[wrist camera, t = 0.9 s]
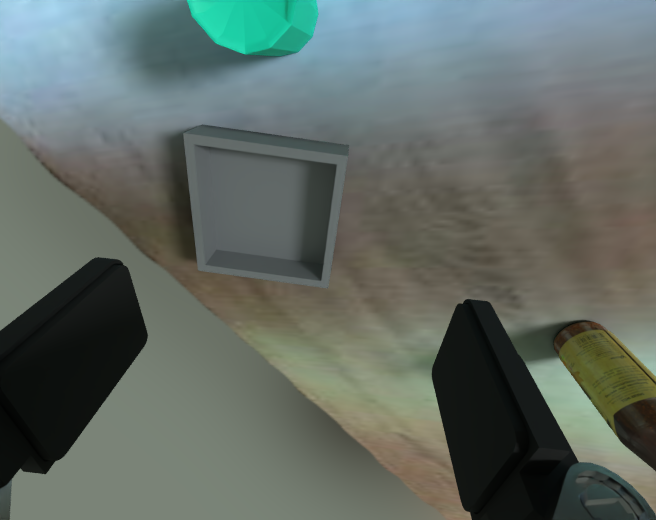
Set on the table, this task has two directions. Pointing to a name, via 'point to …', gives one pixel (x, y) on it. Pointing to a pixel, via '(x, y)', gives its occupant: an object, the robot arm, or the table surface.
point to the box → (264, 203)
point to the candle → (257, 24)
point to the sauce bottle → (613, 384)
